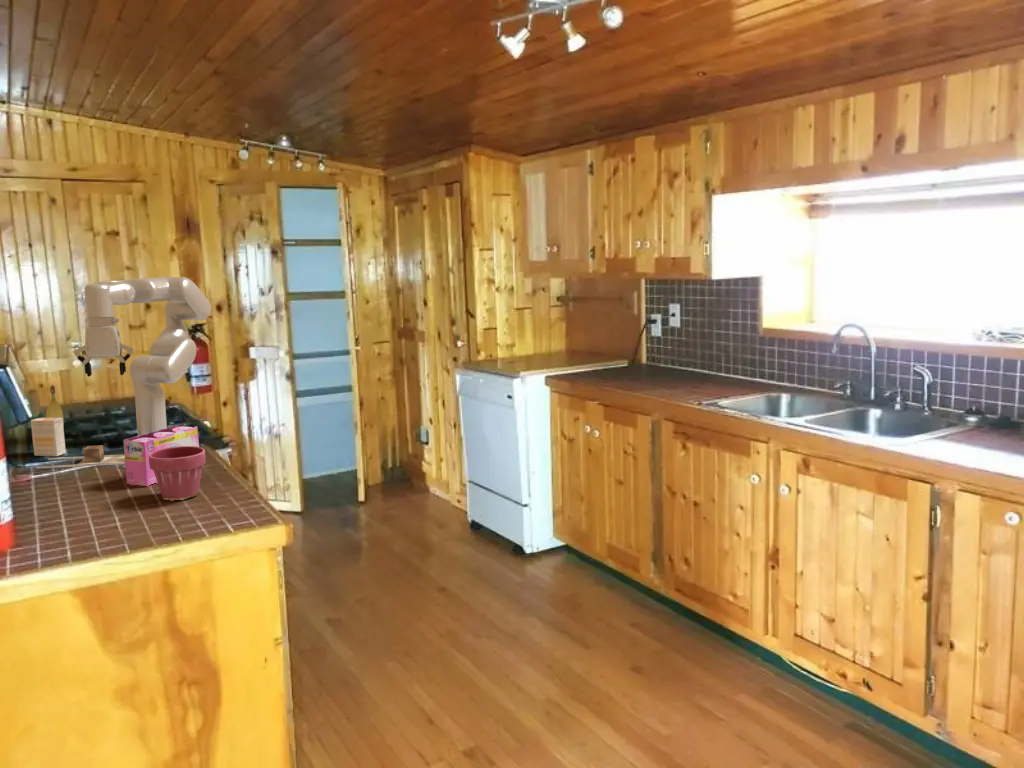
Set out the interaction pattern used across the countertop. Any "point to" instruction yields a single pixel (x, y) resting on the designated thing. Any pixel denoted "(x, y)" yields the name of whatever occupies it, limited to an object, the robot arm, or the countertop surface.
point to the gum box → (148, 443)
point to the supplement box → (48, 436)
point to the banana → (54, 407)
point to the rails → (83, 464)
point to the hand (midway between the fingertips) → (106, 375)
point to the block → (93, 454)
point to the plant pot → (178, 470)
